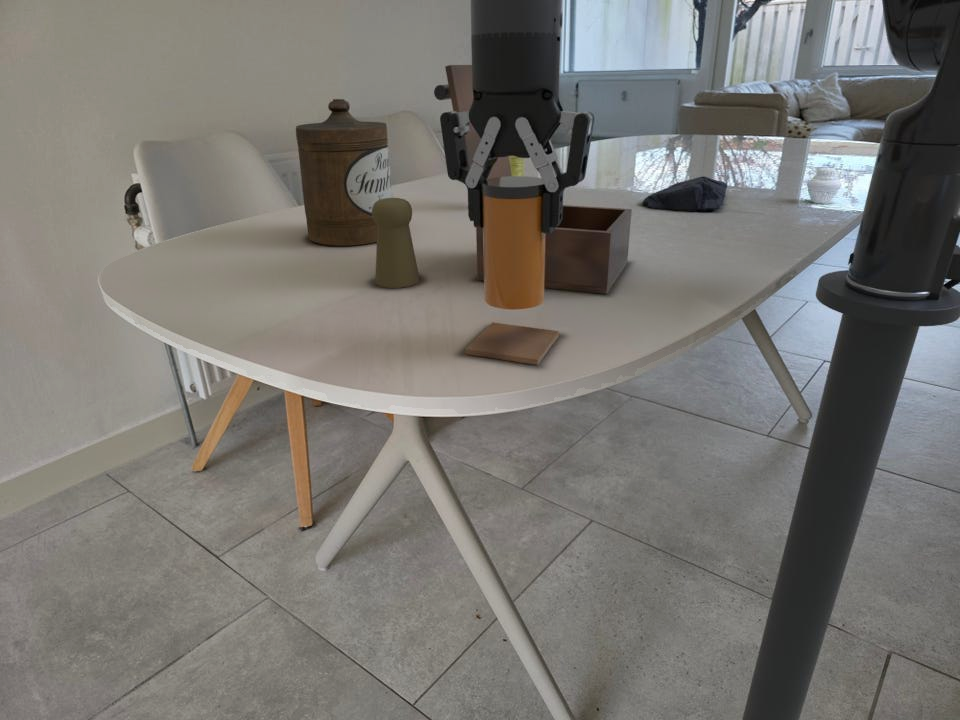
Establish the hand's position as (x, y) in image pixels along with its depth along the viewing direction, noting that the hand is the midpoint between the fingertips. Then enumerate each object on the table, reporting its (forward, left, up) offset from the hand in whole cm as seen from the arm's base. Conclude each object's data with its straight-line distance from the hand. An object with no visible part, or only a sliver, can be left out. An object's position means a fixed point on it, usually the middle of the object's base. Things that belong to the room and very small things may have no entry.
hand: (514, 228), depth 59 cm
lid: (+13, -26, +5) cm, 30 cm away
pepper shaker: (+22, -15, -12) cm, 29 cm away
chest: (+3, -26, -12) cm, 29 cm away
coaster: (0, 0, -12) cm, 12 cm away
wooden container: (+42, -35, -12) cm, 56 cm away
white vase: (-35, -89, -12) cm, 96 cm away
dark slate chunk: (-10, -83, -12) cm, 84 cm away
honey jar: (0, 0, -7) cm, 7 cm away
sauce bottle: (+24, -65, -12) cm, 70 cm away
